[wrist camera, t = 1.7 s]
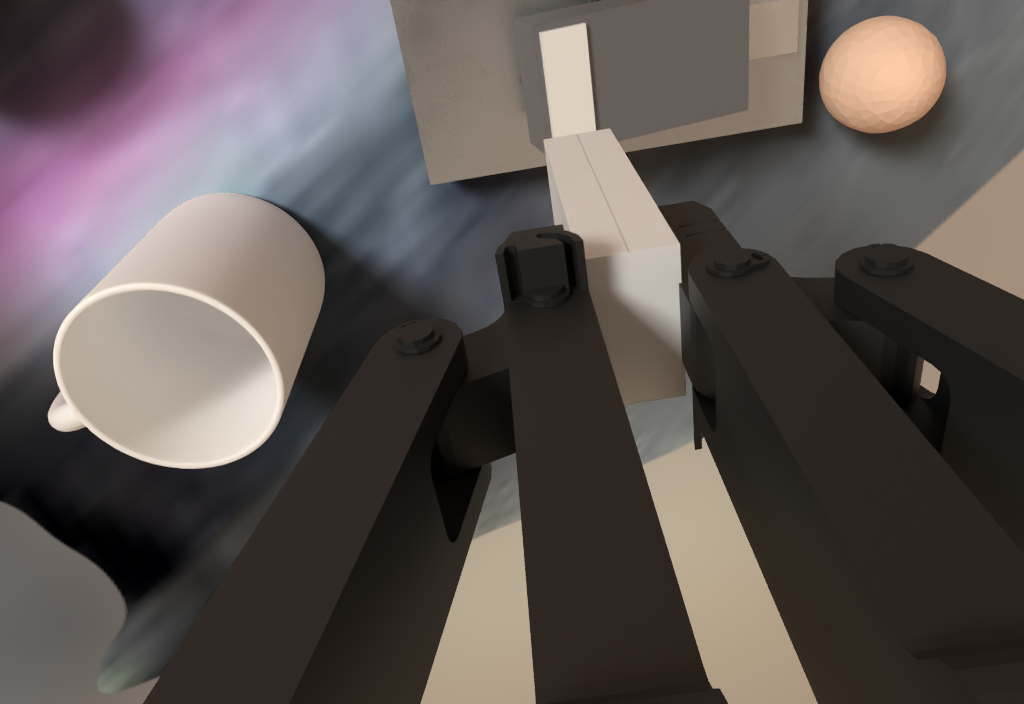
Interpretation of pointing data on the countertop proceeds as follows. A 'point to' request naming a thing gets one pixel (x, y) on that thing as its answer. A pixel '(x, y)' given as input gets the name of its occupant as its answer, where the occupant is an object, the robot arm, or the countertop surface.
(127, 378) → the cup
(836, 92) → the egg
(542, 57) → the block
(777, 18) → the panel
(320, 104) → the countertop surface
